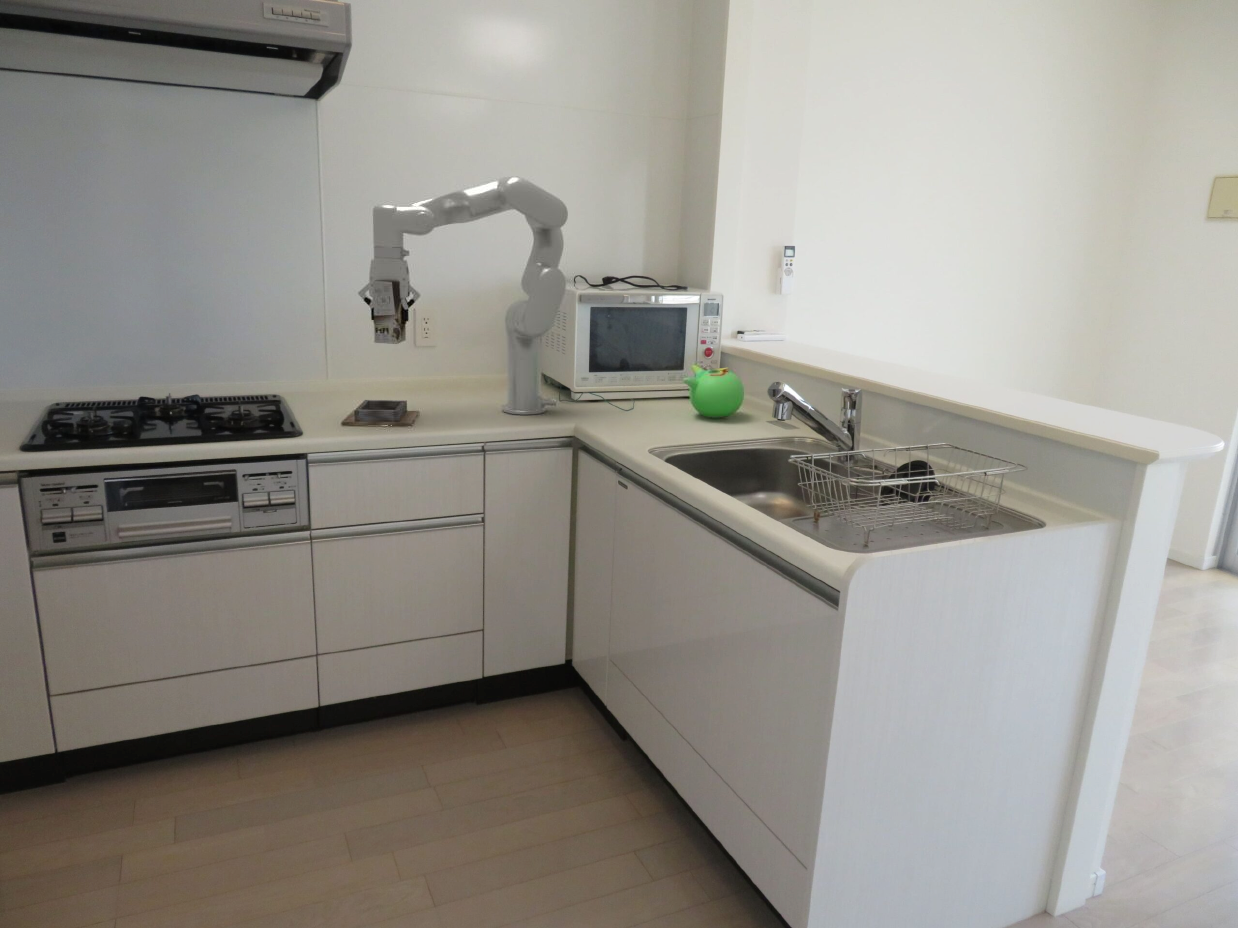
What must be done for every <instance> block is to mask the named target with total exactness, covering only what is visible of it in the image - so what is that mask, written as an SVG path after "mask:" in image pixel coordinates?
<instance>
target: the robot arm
mask: <svg viewBox="0 0 1238 928" xmlns="http://www.w3.org/2000/svg"><path fill="white" fill-rule="evenodd" d="M511 210H515V211H517V212H519V213H520V214H522V215H523V216H524V217H525V220H526V223H527V224H528V226H529V227H530V229H531V232H532V236H533V243H532V246H531V251H530V255H529V257H528V260H527V262H526V265H525V268H524V271H523V273H522V277H521V281H520V285H521V289H522V291H523V293H524V294H526V295H527V296H528V298H527V300H524V299H521V300H517V301H514V302H513V303H511V304H510V305H509V306H508V307H507V310H506V311H505V312H506V313H505V315H504V316H505V318H504V323H505V333H506V339H507V340H506V341H507V342H506V344H507V403H506V404H504V405H502V407H501V410H502V411H503V412H504V413H507V414H510V415H511V414H512V415H522V416H523V415H524V416H526V415H537V414H542V413H544V412H546V411H547V410H546V409H547V407H546V406H550V407H551V406H554V407H555V406H557V399H556V398H548V397H547V398H546V397H543V394H542V393H541V392H542V391H541V390H542V389H541V387H542V381H541V380H542V379H541V378H542V377H541V376H542V375H541V374H542V369H541V367H542V346H541V338H544V337H545V336H547V335H548V334H549V333H550V332H551V331H552V329H553V327H554V324H555V322H556V319H557V317H558V314H559V311H560V308H561V306H562V303H563V299H564V298H565V294H566V287H567V281H566V277H565V275H564V273H563V272H562V270H561V269H559V266H560V263H561V259H562V255H563V251H564V246H565V245H564V243H565V241H564V235H563V231H562V229H561V228H562V227H564V226H565V225H566V222H567V221H568V217H569V211H568V208H567V206H566V204H565V203H564V202H563V201H562V200H561V199H560V197H558V196H556V195H553V193H550V192H548V191H546V190H545V189H543V188H541V187H540V186H538V185H536V184H534V183H533V182H531V181H529V180H527V179H525V178H524V177H520V176H504V177H500V178H496V179H494V180H493V179H492V180H490V181H486V182H483V183H480V184H476V185H473V186H470V187H466V188H462V189H459V190H455V191H453V192H449V193H447V194H443V195H440V196H436V197H433V198H430V199H426V200H423V201H419V202H417V203H413V204H409V205H406V206H400V205H396V204H395V205H394V204H376V205H374V206H373V209H372V227H373V228H372V232H373V233H372V234H373V240H372V241H373V258H372V259H371V260H370V265H369V266H370V267H369V276H368V283H367V284H366V285H365V286H364V287H362V288H361V289H360V290H359V291H358V292H357V294H358V296H359V297H360V298H361V299H362V300H363V302H365V304H367V305H368V306H369V308H370V316H371V319H370V320H371V321H374V285H373V281H387V280H389V281H399V282H400V298H401V303H402V305H403V309H402V324H403V325H405V326H406V325H407V322H409V309H410V308H411V307H412V306H413V305H414V304H415V303H416V302H417V300H418V299H419V298H420V297H421V293H420V292H419V291H417V290H416V289H415V287H413V286H412V285H411V284H410V283H411V282H410V281H411V280H410V272H409V270H410V269H409V264H408V260H406V259H405V258H406V257H409V256H410V250H407V249H405V248H404V234H408V235H410V236H426V235H429V234H430V233H431V232H432V231H434V229H435V228H439V227H443V226H446V225H452V224H453V225H455V224H465V223H469V222H475V221H479V220H480V219H483V218H487V217H491V216H494V215H498V214H500V213H504V212H507V211H511ZM404 259H405V260H404ZM367 292H368V294H369V296H370V297H371V298H372V299H371V298H370V297H368V296H367V294H366V293H367ZM410 295H413V296H412V298H410V300H409V301H408V299H407V298H409V297H410Z"/></svg>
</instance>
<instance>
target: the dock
mask: <svg viewBox="0 0 1238 928" xmlns="http://www.w3.org/2000/svg"><path fill="white" fill-rule="evenodd" d="M420 411H421V410H408V400H399V399H398V400H391V399H390V400H389V399H387V400H385V399H384V400H382V399H364V401H362V403H360V404H359V406H357V407H356V408H355V409H353V410H352V411H351V412H350V413H349V414H348V415H347V416H346V417H345V418H344V419H343V420H342V421H340V422H341V423H340V425H388V426H391V425H392V426H411V427H413V425H414V423H415V422H416V420H417V419H418V417H419V416H418V414H419V413H420ZM419 415H420V414H419ZM417 416H418V417H417ZM416 418H417V419H416ZM415 419H416V420H415ZM414 421H415V422H414ZM412 424H413V425H412ZM388 426H387V427H388Z"/></svg>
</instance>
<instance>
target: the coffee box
mask: <svg viewBox="0 0 1238 928" xmlns="http://www.w3.org/2000/svg"><path fill="white" fill-rule="evenodd" d="M373 285H374V320H373V331H374V332H373V333H374V334H373V336H374V340H373V341H374V343H375V344H389V345H393V344H394V345H398V344H401V343H402V342H404V341H406V338H407V336H406V331H407V330H406V327H407V326H406V324H405V325H403V324H402V309H403V305H402V303H401V298H400V282H399V281H389V280H387V281H373Z"/></svg>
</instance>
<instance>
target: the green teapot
mask: <svg viewBox="0 0 1238 928" xmlns="http://www.w3.org/2000/svg"><path fill="white" fill-rule="evenodd" d="M729 369H730V367H722V368H711V369H708V370H705V369H704V368H702V367H700V366H698V365H695V364H692V365H691V370H692V371H693V373H694V375H695V377H684V378H683V380H682V382H683V383H684V385H687V387H689V396H688V397H689V399H690V403H691V405H692V407H693V409H694V410H695V411H696V412H698V414H701V415H702V416H704V417H708V418H712V419H713V418H717V419H719V418H725V417H728V416H731V415H733V414H735V413H736V412H737V411H739V409H740V407H741V406H742V405H743V402H744V400H745V390H744V385H743V383H742V381H741V379H740V378H739V377H738V376H737V375H736V374H735V373H733V372H732V371H729Z"/></svg>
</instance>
